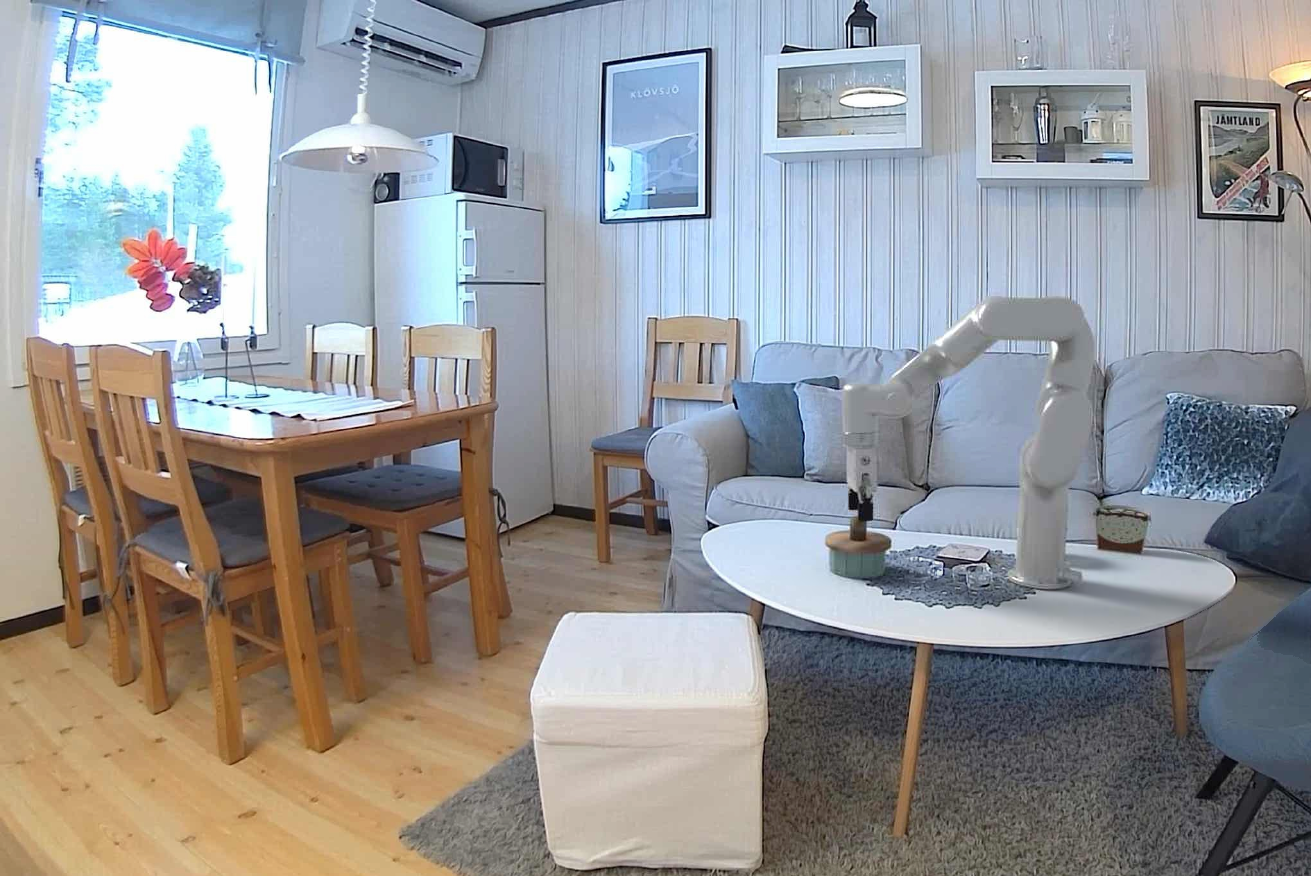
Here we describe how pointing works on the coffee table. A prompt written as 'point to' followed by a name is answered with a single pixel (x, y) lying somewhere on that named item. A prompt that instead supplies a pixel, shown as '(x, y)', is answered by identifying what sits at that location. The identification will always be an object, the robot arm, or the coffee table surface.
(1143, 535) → the food container
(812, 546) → the coffee table surface
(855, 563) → the bowl
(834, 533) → the lid
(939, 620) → the coffee table surface
